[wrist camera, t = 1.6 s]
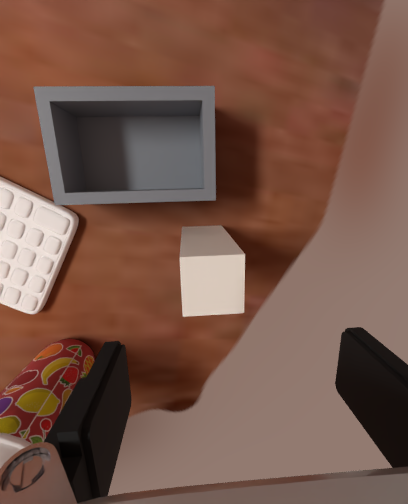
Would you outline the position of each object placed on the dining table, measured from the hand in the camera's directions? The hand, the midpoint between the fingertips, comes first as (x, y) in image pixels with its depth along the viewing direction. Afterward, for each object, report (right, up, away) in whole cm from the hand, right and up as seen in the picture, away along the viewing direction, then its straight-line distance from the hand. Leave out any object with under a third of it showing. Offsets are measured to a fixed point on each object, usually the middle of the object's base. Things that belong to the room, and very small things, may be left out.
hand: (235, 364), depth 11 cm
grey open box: (-8, +15, +16) cm, 23 cm away
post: (-1, +6, +19) cm, 20 cm away
